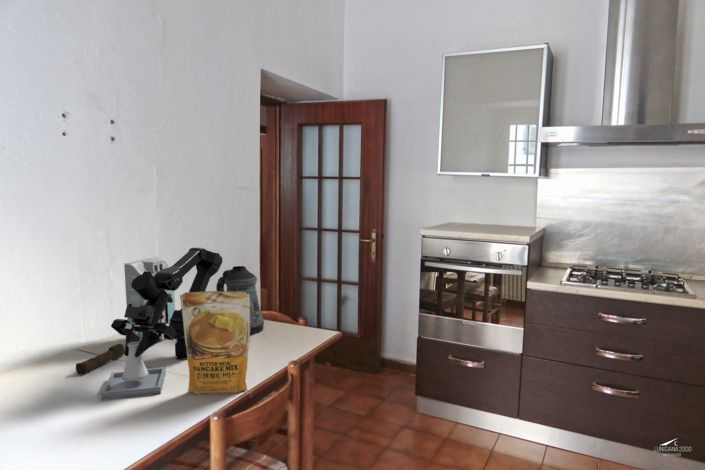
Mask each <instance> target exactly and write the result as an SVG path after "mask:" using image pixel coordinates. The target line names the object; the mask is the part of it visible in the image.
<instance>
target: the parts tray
mask: <svg viewBox="0 0 705 470" xmlns="http://www.w3.org/2000/svg"><path fill="white" fill-rule="evenodd" d="M146 369H147V371H148V373H149V374H148V376H147V378H144V379H140V380H137V381H124V380H123V379H122V375H123V372H124V370H123V371H117V372H116V371H115V372H111V373H110V376H109V377H108V379H107V381H106V383H105V385H104V386H103V388H102V390H101V392H100V401H106V400H105V399H108V400H115V399H116V400H117V399H124V398H125V399H126V398H134V397H143V396H152V395H153V396H154V395H161V393H162V389H163V385H164V382H165V379H166V375H167V371H166V369H167V368H166V367H165V366H163V367H156V368H155V367H154V368H146ZM165 374H166V375H165ZM164 378H165V379H164Z"/></svg>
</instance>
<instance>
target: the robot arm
mask: <svg viewBox="0 0 705 470" xmlns="http://www.w3.org/2000/svg"><path fill="white" fill-rule="evenodd" d="M222 264H223V257H222V256H221V254H220V253H219V252H213V251H211V250H208V249H206V248H204V247H191V248H189V249H188V252H187V253H185V254H184V255H183V256H182V257H180V258H179V259H178V260H177V261H176V262H174V263H173V265H170V266H171V267H169V268H165V269H162V270H160V271H159V272H157V273H156V274H155V275H154V276H153V275H152V273H151V272H150V271H144V272H143V274H141V275H139V276H137V277H136V278H135V279H134V280H133V281H132V284H131V286H132V288H133V289H134V290H135V291H136V292H137V293H138V294H139V295H140V296H141V297H142V298H143V299H144V300H147V301H146V303H145V305H144V306H140V307H131V306H127V305H126V307H125V313H124V316H123V317H124V318H125V319H123V318H116V319H114V320H113V321H112V323H111V325H110V327H111V328H112V330H114V331H116V332H117V333H118V334H119V335H120V336H125V343H124V344H125V346H124V348H125V354H124V356H125V357H128V354H129V347H128V345H127V344H128V343H130V342H138V341H139V340H140V337H138V336H137V334H138V332H143V333H142V339H141V342H140V344H139V346H138V348H137V350H136V353H135V357H139V356H141V355H143V353H146V351H147V350H148V349H150V348H151V347H153V346H154V344H155V343H156V342H158V341H161V339H160V337H161V334H164V338H165V339H166V340H167V341H174V340H176V341H175V343H174V355H175V357H176V360H188V358H187V348H186V343H185V336H184V327H183V316H182V309H181V308H180V309H175V311H174V312H173V315H172V317H171V319H170V320H169V321H170V323H161V322H159V320H160V319H163V318H164V316H163V315H162V313H163V311H164V309H165V307H166V305H167V302H169V303H172V302H173V299H172V297H171V294H168V293H167V292H166V291H165V290H170V291H174V292H175V291H177V290H178V289H179V287H180V286H181V285H182V284H183V282H184V280H183V279H184V277H185V275H186V274H187V273H189V272H190V271H191V270H192V269H193V268H194V267H195V269H196V274H195V276H194V279H193V281H192V283H191V286H190V289H189V290H188V292H205V291H206V290H207V287H208V284H209V283H210V280H211V277H213V276H214V275H216V274H217V273H218V272H219V269H221V266H222ZM127 317H128V318H132V320H131V321H133V322H135V323H136V324H135V325H133V324H131V323H130V322H129V321H128V320H127V319H126V318H127ZM166 340H165V341H166ZM161 342H162V341H161ZM152 345H153V346H152ZM155 345H156V344H155Z"/></svg>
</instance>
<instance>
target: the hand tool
mask: <svg viewBox="0 0 705 470" xmlns="http://www.w3.org/2000/svg"><path fill="white" fill-rule="evenodd" d="M123 356H125V346H124V343H116V344H114V345H111V346H109V347H108V350H106V351H104V352H102V353H99V354H98V355H94V357H90V358H89V359H86V360H84V361H82V362H78V363H76V364H75V372H76V373H77V375H81V376H84V375H86V374H87V373H90V371H92V370H94V369H96V368H98V367H101V366H103V365H105V364H106V363H109V362H110V361H117V360H119V359H120V358H122V357H123Z"/></svg>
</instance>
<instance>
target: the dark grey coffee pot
mask: <svg viewBox="0 0 705 470" xmlns="http://www.w3.org/2000/svg"><path fill="white" fill-rule="evenodd" d="M257 282H258V277H257V276H256V275H255V274H254V273H252V272H250V271H249V270H248V269H247V267H246V266H244V265H240V266H239V265H238V266H237V265H236V266H233V267H232V268H231V269H226V270H224V271H223V273H222V276H220V277H219V279H217V283H216V284H215V285H216V286H215V287H216V290H215V291H221V292H227V291H246V294H250V295H251V330H250V336H253V335H256V333H257V334H260V333H261V332H263V331H264V324H265V318H264V317H263V315H262V312H261V309H260V304H259V300H258V299H259V298H258V294H257V287H256V284H257ZM225 286H226V291H225ZM262 330H263V331H262ZM252 334H253V335H252Z"/></svg>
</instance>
